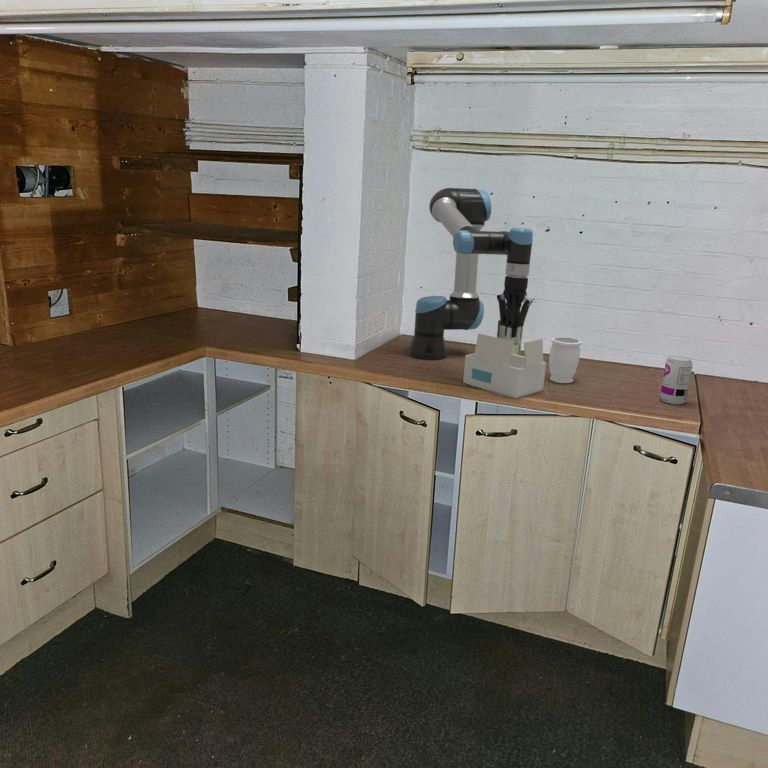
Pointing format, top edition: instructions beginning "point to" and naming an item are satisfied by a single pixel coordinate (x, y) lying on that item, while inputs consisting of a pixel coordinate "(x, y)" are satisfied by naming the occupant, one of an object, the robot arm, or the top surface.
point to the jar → (564, 359)
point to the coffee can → (517, 339)
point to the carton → (504, 376)
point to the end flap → (533, 352)
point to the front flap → (493, 349)
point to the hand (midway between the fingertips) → (509, 346)
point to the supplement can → (676, 380)
